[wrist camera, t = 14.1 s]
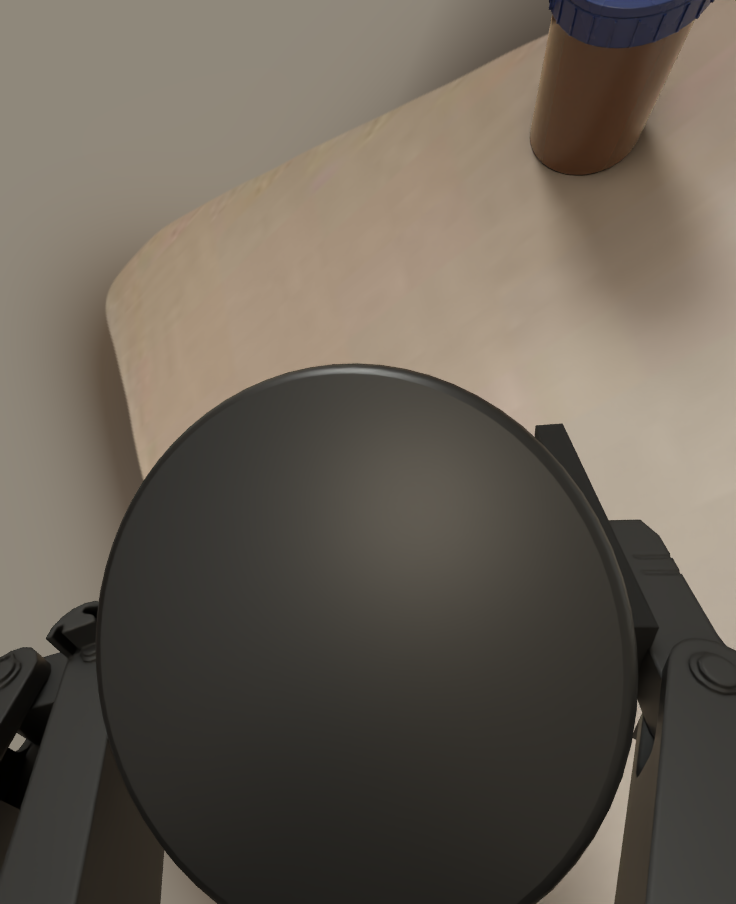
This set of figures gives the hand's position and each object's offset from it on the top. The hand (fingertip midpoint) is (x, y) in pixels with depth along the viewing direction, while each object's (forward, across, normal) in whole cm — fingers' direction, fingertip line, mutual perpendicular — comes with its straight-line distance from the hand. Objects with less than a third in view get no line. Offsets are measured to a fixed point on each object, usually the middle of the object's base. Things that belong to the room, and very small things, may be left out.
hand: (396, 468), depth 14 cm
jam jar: (+27, +12, +8) cm, 31 cm away
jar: (+1, 0, -5) cm, 5 cm away
